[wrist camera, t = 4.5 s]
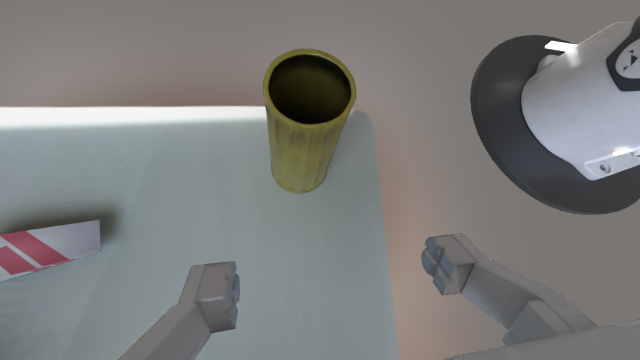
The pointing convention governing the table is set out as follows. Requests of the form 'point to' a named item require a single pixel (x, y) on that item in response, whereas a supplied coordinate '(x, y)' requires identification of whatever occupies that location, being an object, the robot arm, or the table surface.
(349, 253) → the table surface
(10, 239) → the sheathed knife
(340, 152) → the table surface
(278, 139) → the vase
